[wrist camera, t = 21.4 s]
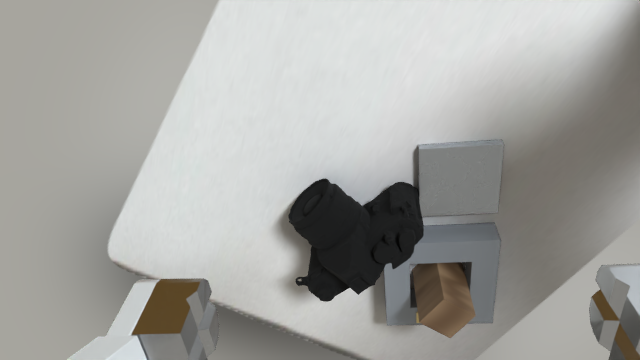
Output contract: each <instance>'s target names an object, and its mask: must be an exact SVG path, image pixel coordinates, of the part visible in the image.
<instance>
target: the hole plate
mask: <svg viewBox="0 0 640 360" xmlns="http://www.w3.org/2000/svg"><path fill="white" fill-rule="evenodd" d="M500 244H501V239H500V237H499V234H498V231H497V229H496V226H495V223H478V224H455V225H432V226H424V236H423V237H422V239H421V240H420V241H419V242H418V243H417V244H416V245H415V247H414V253H413V254H412V256H411V258H409V259H408V260H407V261H406V262H404V263H403V264H401V265H400V266H398V267H397V268H395V269H393V268H392V263H389V264H386V265H385V268H384V280H385V300H386V318H387V325H423V324H421V323H420V322H419V317H418V309H417V302H416V294H415V289H410V264H424V263H452V262H466V267H465V276H466V280H467V284H468V287H469V291H470V295H471V299H472V303H473V307H474V310H475V314H476V316H475V317H474V318H473V319H472V320H470V321H469V322H468V323H467V324H473V323H493V313H494V303H495V293H496V284H497V274H498V264H499V254H500Z"/></svg>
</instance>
